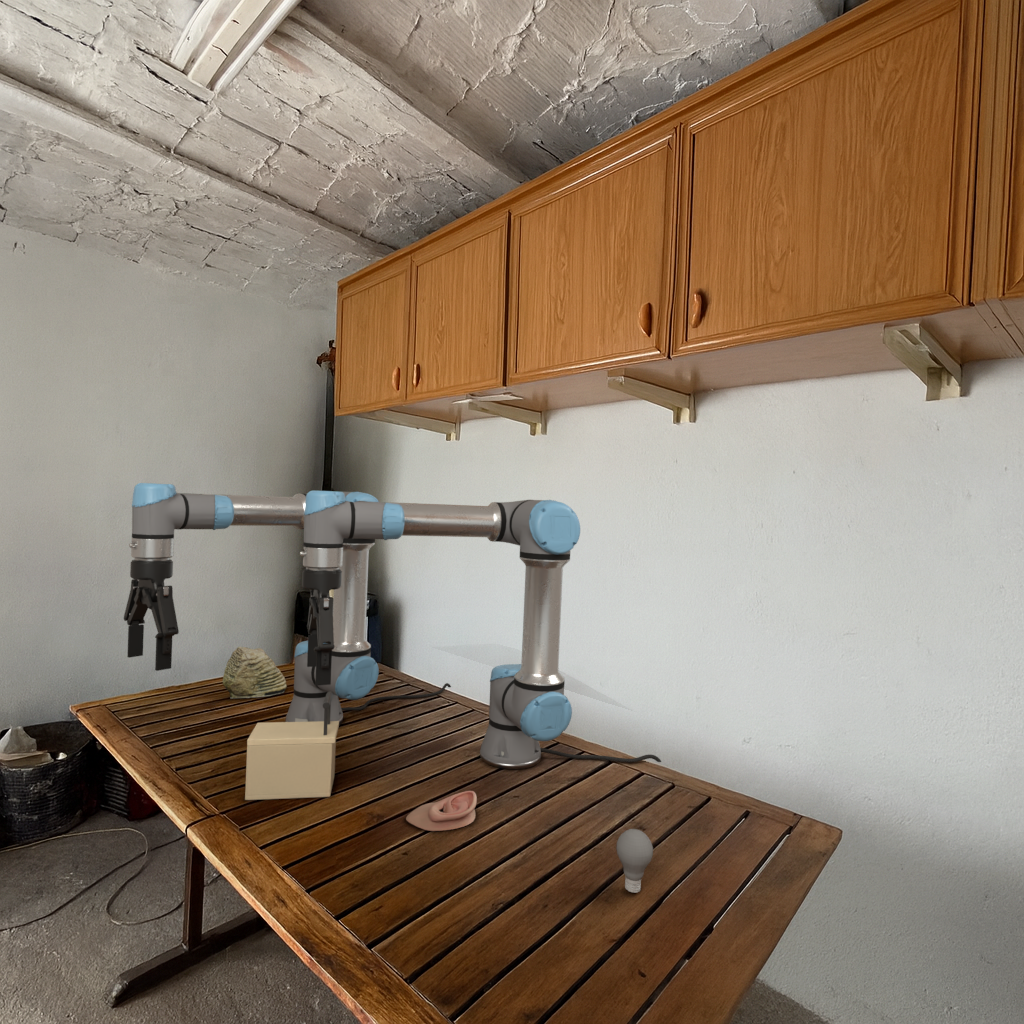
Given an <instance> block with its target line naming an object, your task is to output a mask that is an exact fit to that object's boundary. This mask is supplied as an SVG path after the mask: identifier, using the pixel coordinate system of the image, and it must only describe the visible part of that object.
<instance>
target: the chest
mask: <svg viewBox="0 0 1024 1024" xmlns="http://www.w3.org/2000/svg"><path fill="white" fill-rule="evenodd" d="M336 745H337V739H336V740H335V743H324V744H285V745H247V744H246V762H245V763H246V765H245V766H246V767H245V771H246V772H245V790H244V791H245V792H244V793H245V795H244V801H257V800H279V799H280V800H281V799H307V798H329V797H331V793H332V789H333V785H334V780H335V776H336V775H335V774H336V773H335V771H336V749H337V748H336Z"/></svg>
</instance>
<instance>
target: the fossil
mask: <svg viewBox="0 0 1024 1024" xmlns="http://www.w3.org/2000/svg"><path fill="white" fill-rule="evenodd" d="M222 676H223V677H222V685H223V687H224V688H225V690H226V691H228V693H229V698H230V699H250V698H264V697H271V696H275V695H281V694H284V693H285V691H286V689H287V687H288V686H287V680H286V678H285V676H284V674H283V673H282V672H281V669H279V668H278V667H277V665H276V663H275V662H274V660H273V659H272V658H271V657H270V656H269V655H268V654H267V653H266V652H265V650H264V649H263V648H260V647H258V648H251V647H247V646H246V647H245V646H238V647H237V648H236V649H235V650H233V651H232V653H231V656H230V657H229V659H228V660H227V663H226V666H225V668H224V671H223V675H222Z"/></svg>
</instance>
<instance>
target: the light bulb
mask: <svg viewBox="0 0 1024 1024" xmlns="http://www.w3.org/2000/svg"><path fill="white" fill-rule="evenodd" d="M615 849H616V854H617V857H618V859H619V861H620V863H621V865H622V867H623V873H624V874H623V875H624V876H625V878H624V888H625V890H627V891H628V892H630V893H634V894H635V893H639V892H640V891H641V889H642V887H641V886H642V879H643V877H644V875H645V871H646V868H647V867H648V866H649V864H650V863H651V861H652V859H653V855H654V847H653V843H652V841H651V838H649V836H648V835H647V834H646V833H645V832H643V831H642V830H641V829H636V828H629V829H627V830H625V831H623V832H622V833H621V834H620V835H619V837H618V839H617V841H616V847H615Z"/></svg>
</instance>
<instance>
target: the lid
mask: <svg viewBox="0 0 1024 1024" xmlns="http://www.w3.org/2000/svg"><path fill="white" fill-rule="evenodd" d="M332 697H333V693H332V692H327V694H326V697H325V700H324V703H323V708H324V721H317V722H286V721H275V722H273V721H272V722H271V721H270V722H257V723H256V725H255V726H254V728H253V729H252V731H251V733H250V734H249V736H248V738H247V740H246V746H247V745H285V744H324V743H335V740H336V741H337V736H338V732H339V726H340V725H339V721H330V714H331V701H332Z"/></svg>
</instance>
